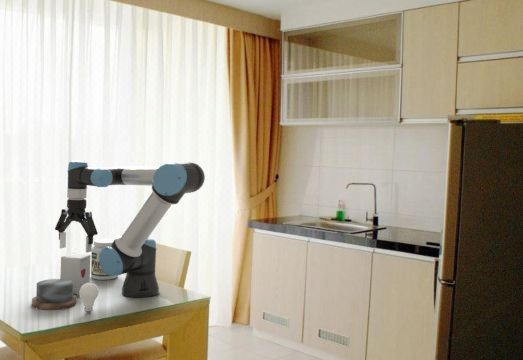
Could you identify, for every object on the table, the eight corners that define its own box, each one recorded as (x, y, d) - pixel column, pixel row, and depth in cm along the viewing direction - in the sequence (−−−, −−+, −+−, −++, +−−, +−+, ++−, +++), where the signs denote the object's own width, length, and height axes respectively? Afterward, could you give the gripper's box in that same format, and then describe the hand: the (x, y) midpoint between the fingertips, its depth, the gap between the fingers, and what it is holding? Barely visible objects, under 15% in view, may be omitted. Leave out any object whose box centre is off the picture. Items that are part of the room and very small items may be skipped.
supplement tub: (85, 278, 258) (86, 241, 257) (101, 273, 270) (101, 237, 269) (108, 281, 255) (109, 244, 253) (123, 276, 266) (124, 240, 265)
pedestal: (85, 301, 223) (85, 281, 222) (55, 312, 208) (55, 290, 208) (53, 295, 229) (54, 276, 229) (22, 305, 214) (22, 284, 214)
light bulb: (99, 310, 213) (100, 281, 212) (95, 315, 206) (95, 285, 206) (81, 309, 213) (82, 280, 212) (76, 315, 206) (77, 285, 205)
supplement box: (79, 294, 232) (80, 258, 231) (59, 292, 234) (60, 256, 233) (90, 289, 241) (91, 254, 240) (71, 287, 243) (71, 252, 242)
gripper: (107, 200, 233) (105, 252, 235) (60, 195, 243) (58, 244, 245) (95, 202, 226) (93, 255, 228) (46, 196, 236) (45, 247, 238)
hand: (75, 249), depth 236 cm, fingers open, 13 cm apart
